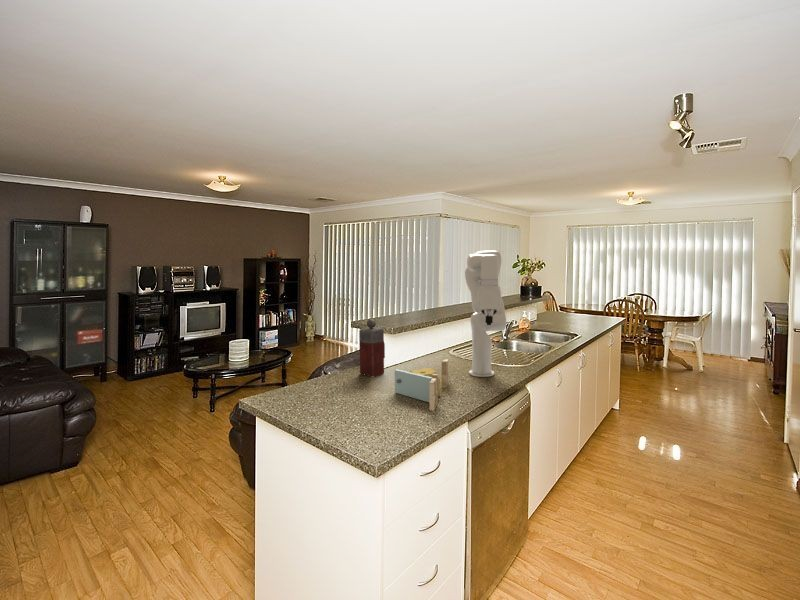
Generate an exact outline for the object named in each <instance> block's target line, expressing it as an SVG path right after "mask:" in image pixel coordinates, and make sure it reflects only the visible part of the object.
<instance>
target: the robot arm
mask: <svg viewBox="0 0 800 600" xmlns="http://www.w3.org/2000/svg"><path fill="white" fill-rule="evenodd" d="M501 265H502V255H501V253H500V251H497V250H478V251H476V252H475V253H469V254H468V256H467V258H466V266H467V267H466V268H465V271H464V278H465V281H466V286H467V288H468V289H469V292H470V298H471V308H472V310H473V313H472V314H471V315H470V318H469V319H470V327H471V339H472V340H471V345H472V346H471V363H472V364H471V369H470V370H469V371H468V374H469V375H471V376H473V377H478V378H479V377H480V378H488V377H489V378H490V377H492V376H494V375H495V371H494V370H492V338H491V337H490V335H489V334H488V333H487V332H491V331H492V332H493V331H494V332H501V331H504V330H505V329H506V327H507V316H506V309H505V304H504V300H503V297H502V292H501V290H502V289H501V287H500V286H499V276H500V270H501V267H502V266H501Z"/></svg>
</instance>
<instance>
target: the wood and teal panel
mask: <svg viewBox="0 0 800 600" xmlns="http://www.w3.org/2000/svg"><path fill="white" fill-rule="evenodd" d="M438 377H439V373H437V374H433V375H432V379H431V381H430V402H429V411H430V410H432V411H433V412H434V411H435V409H436V407H437V406H438V405H437V404H439V396H438ZM448 385H449V359H446V358H445V359H444V360H441V388H442V389H443V388H445V389H446V388H447V386H448ZM436 405H437V406H436ZM432 411H431V412H432Z"/></svg>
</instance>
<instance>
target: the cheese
mask: <svg viewBox="0 0 800 600" xmlns="http://www.w3.org/2000/svg"><path fill="white" fill-rule="evenodd" d="M409 372H411V373H415V374H420V375H424V376H428V377H432V375H433V374H438V372H437V371H436V370H434V369H433V368H431V367H426V368H425V367H424V368H422V369H421V368H420V369H414V370H409ZM440 384H441V379H440V377H439V376H438V397H439V396H441V393H442V390H441V387H440Z"/></svg>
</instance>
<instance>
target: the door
mask: <svg viewBox="0 0 800 600" xmlns="http://www.w3.org/2000/svg"><path fill="white" fill-rule="evenodd" d="M431 379H432V377H428V376H424V375H420V374H415V373H411V372H410V371H406V370H402V369H397V368H396V369H394V393H396V394H400V395H402V396H406V397H408V398H409V397H410V398H413V399H416V400H419V401H423V402H427V403H430V381H431Z"/></svg>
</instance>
